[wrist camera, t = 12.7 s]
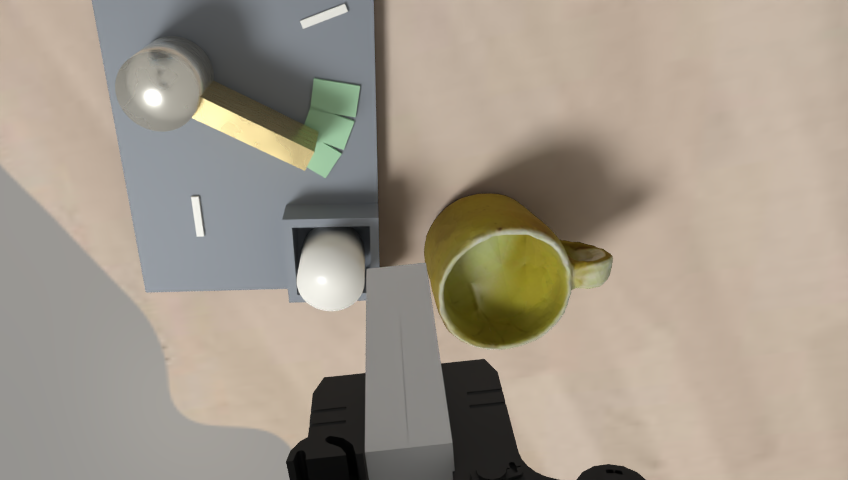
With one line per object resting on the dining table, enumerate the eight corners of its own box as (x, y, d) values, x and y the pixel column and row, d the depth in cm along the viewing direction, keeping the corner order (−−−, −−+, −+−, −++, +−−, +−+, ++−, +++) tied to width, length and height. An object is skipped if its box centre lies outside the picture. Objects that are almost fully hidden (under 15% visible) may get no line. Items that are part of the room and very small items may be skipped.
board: (87, -66, 44) (63, -62, 40) (372, -65, 45) (372, -61, 41) (150, 284, 54) (135, 310, 51) (379, 278, 55) (380, 303, 52)
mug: (401, 322, 55) (442, 363, 45) (409, 186, 53) (454, 199, 44) (548, 321, 58) (615, 358, 49) (559, 193, 57) (630, 206, 48)
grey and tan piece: (128, 88, 46) (103, 109, 42) (154, 22, 45) (130, 37, 40) (299, 168, 49) (293, 196, 45) (329, 109, 48) (325, 132, 43)
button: (300, 223, 50) (294, 253, 46) (364, 222, 51) (363, 251, 47) (304, 278, 52) (298, 312, 48) (365, 277, 53) (365, 310, 49)
